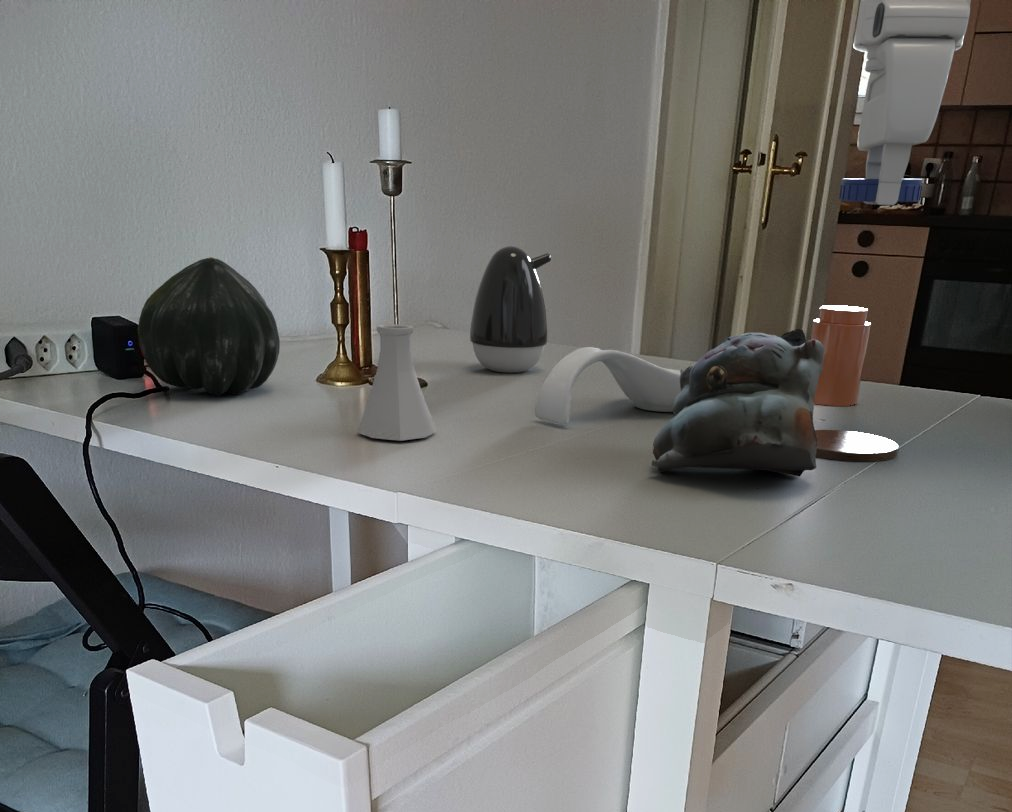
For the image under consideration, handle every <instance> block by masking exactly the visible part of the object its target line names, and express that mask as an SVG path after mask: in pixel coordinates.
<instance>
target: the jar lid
mask: <svg viewBox="0 0 1012 812" xmlns="http://www.w3.org/2000/svg"><path fill="white" fill-rule="evenodd" d="M877 182H879V179H866V178H842V179H841V184H840V189H839V197H838V200H839V201H840V202H859V203H860V202H862V203H864V202H875V200H874V199H875V194H876V188H877ZM922 184H923V178H903V180H902V182H901V187H900V192H899V197H898V201H897V203H916V202H919V201H921V197H922V193H923V191H922V190H923V185H922Z"/></svg>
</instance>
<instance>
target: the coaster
mask: <svg viewBox="0 0 1012 812" xmlns="http://www.w3.org/2000/svg"><path fill="white" fill-rule="evenodd" d="M815 433H816V437H817V449H816V456H815V458H820V459H827V460H834V461H842V462H858V463H859V462H863V463H864V462H866V463H869V462H882V461H883V462H884V461H888V460H891V459H894V458H896V457H897V456H898V452H899V444H898V443H896V442H895V441H893V440H891V439H888V438H887V437H883V436H879V435H876V434H875V435H874V434H872V433H871V434H870V433H864V432H858V431H852V430H851V431H849V430H841V429H840V430H839V429H815Z"/></svg>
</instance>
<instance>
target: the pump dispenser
mask: <svg viewBox="0 0 1012 812" xmlns="http://www.w3.org/2000/svg"><path fill="white" fill-rule="evenodd" d="M551 261H552V256H551V255H550V253H548V252H547V253H544V254H541V255H538V256H535V257H533V258H530V257H529V255H528V253H527V252H526V251H524V250H523V249H522V248H520V247H517V246H513V245H508V246H504V247H501V248H499V249H498V250H497V251H495V253H494V254H493V255H492V256H491V258H490V259H489V261H488V263H487V265H486V267H485V269H484V272H483V274H482V277H481V279H480V282H479V285H478V288H477V291H476V295H475V299H474V304H473V307H472V315H471V319H470V320H471V321H470V329H469V341H470V343H472V349H473V352H474V355H475V358H476V359H477V361H478V363H480V364H481V366H483V367H484V368H486V369H487V370H489V371H492V372H497V373H509V374H510V373H511V374H513V373H514V374H515V373H516V374H517V373H524V372H526V371H529V370H530V369H532V368H534V367H535V366H536V365H537V364H538V363H539V361H540V360H541V358H542V356H543V353H544V349H545V345H547V343H548V320H547V312H546V311H547V310H546V304H545V300H544V293H543V289H542V286H541V283H540V280H539V276H538V273H537V270H538V269H540V268H541V267H543V266H545V265H546V264H548V263H549V262H551Z"/></svg>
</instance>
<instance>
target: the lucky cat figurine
mask: <svg viewBox="0 0 1012 812" xmlns="http://www.w3.org/2000/svg"><path fill="white" fill-rule="evenodd" d="M824 353H825V350H824V345H822V344H821V342H819V341H818V340H815V339H811V338H810V339H808V340H807V339H806V333H805V332H804V330H803V329H801V328H795V329H792V330H791V331H786V332H784V333H783V334H782V335H781V336H779V335H776V334H766V333H764V332H745V333H743V334H737V335H733V336H729V337H726V338H725V340H724V341H722V342H721V344H719V345H718V346H716V347H715V348H712V349H710V350H708V351H707V352H706V353H705V354H704V355H702V356H701V357H699V359H698V360H697V361H696V362H695V363H692V362H690V365H689V366H688V367H686V368H685V369H682V368H681V369H680V372H681V374H680V388H681V392H680V393H679V394H678V395H677V396H676V398H675V400H674V405H673V409H672V410H673V412H672V413H673V415H674V416H673V417H672V418H670V419H669V420H668V421H667V422H666V423H665V424H664V425H663V426H662V428H661V429H660V430H659V431H658V433H657V434H656V436H655V438H654V439H653V443H652V446H653V449H652V454H653V456H654V459H655V460H652V461H651V466H653V467H656V468H657V470H658V471H659V473H660V474H662V473H664V472H667V471H670V470H674V469H682V468H683V469H684V468H703V469H729V470H730V469H731V470H733V469H734V470H735V469H736V470H753V471H754V470H757V471H758V470H759V471H768V472H774V473H779V474H784V475H788V476H795V477H801V476H802V475H803V473H804V472H805V471H812V470H815V469H817V462H816V461H817V460H816V449H817V437H816V433H815V430H816V429H815V424H814V408H815V407H814V405H815V404H814V397H815V393H816V389H817V386H818V379H819V375H820V374H821V372H822V370H823V356H824Z"/></svg>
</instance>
